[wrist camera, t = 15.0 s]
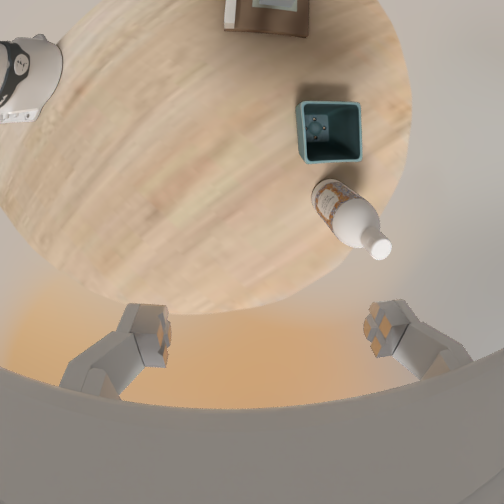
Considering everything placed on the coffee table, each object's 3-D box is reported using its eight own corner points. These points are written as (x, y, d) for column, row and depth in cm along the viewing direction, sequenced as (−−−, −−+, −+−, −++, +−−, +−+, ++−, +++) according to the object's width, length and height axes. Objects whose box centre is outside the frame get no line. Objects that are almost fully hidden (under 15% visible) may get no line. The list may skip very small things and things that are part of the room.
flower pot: (337, 102, 39) (361, 102, 31) (340, 152, 43) (362, 162, 35) (286, 103, 39) (300, 100, 31) (290, 154, 43) (304, 164, 35)
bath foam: (321, 171, 45) (376, 213, 27) (352, 187, 46) (414, 235, 29) (304, 206, 48) (345, 265, 30) (335, 220, 49) (386, 280, 32)
